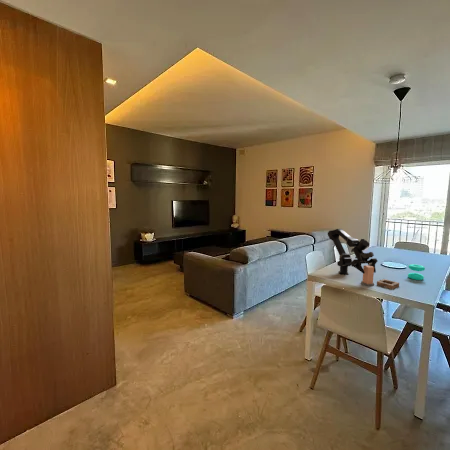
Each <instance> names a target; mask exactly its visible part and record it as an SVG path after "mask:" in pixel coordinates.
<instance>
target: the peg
mask: <svg viewBox="0 0 450 450" xmlns="http://www.w3.org/2000/svg"><path fill="white" fill-rule="evenodd" d="M362 268H363V270H364V272H365V273H364V274H363V273H362V280H361V281H362V282H364V283H366V284H373V283H374V274H375V273H374V267H373V266H370V265H368V264H364V265H363V266H362Z"/></svg>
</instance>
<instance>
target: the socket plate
mask: <svg viewBox="0 0 450 450" xmlns="http://www.w3.org/2000/svg"><path fill="white" fill-rule="evenodd" d="M376 285H377V286H379V287H382V286H383V288H385V289H390V290H394V289H396V288H399V287H400V282H398V281H394V280H389V279H386V278H383V279H380V280H377V281H376Z"/></svg>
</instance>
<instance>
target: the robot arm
mask: <svg viewBox="0 0 450 450" xmlns="http://www.w3.org/2000/svg"><path fill="white" fill-rule="evenodd" d="M327 237H328V238H329V239H330V240H331V241H332V242H333V244H334V246H335V248H336V251H337V253H338V255H339V259H338V261H337V266H338V267H339V271H338V273H339V275H348V276H349V275H350V274H349V273H348V270H349V267H353V268H355V269H356V270H358V271H359V272H361V273H362V275H363V274H364V273H365V272H364V270H363V266H362V264H363V265H365V264H367V265H370V266H373V267H374V274H375V273H376V272H377V271H376V264H377V263H378V259H377V258H375V257H374V256H375V255H374V252H373V251H369V252H364V251H365V250H367V248H368V247H369V246H370V243H369V242H370V241H368V240H366V239H365V238H361V239H360V240H359V239H357V238H356V237H354V236H353V237H352V236H351V235H349V234H348V233H347V232H346V231H344V229H343V228H335V229H332V230H329V231H327ZM340 237H341V238H342V239H343V240H344V241H345V242H346V244H347V246H348V247H349V248H351V250H350V252H351V253H354V255H355V259H354V258H353V260H352V257H351V255H350V253H346V251H345V249H344V247H343V244H342V242H341V239H340ZM373 257H374V258H373Z"/></svg>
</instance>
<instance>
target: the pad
mask: <svg viewBox="0 0 450 450" xmlns="http://www.w3.org/2000/svg"><path fill="white" fill-rule="evenodd" d="M362 281H363V280H361V281H360V284H361V285H363V286H367V287H373V286H375V283H374V282H373V284H366V283H364V282H362Z"/></svg>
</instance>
